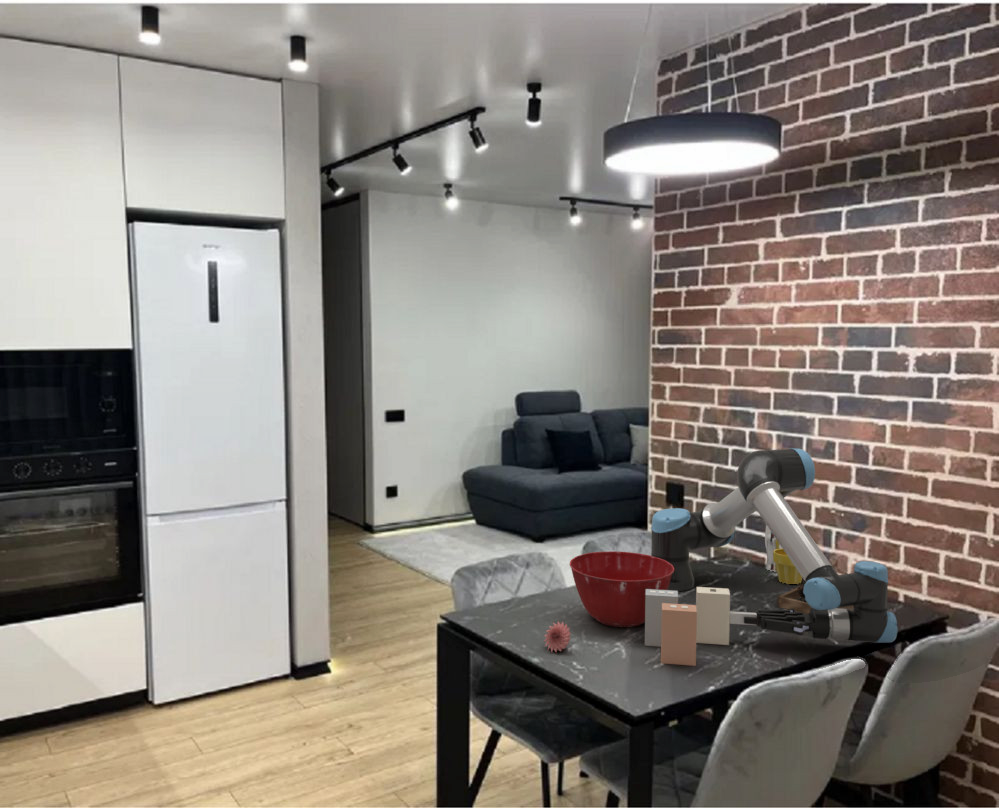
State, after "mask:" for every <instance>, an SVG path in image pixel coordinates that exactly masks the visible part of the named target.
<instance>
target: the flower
mask: <svg viewBox="0 0 999 808" xmlns="http://www.w3.org/2000/svg"><path fill="white" fill-rule="evenodd" d="M552 625H553V626H552ZM552 625H549V626H548V628H549V629H547V630H546V629H545V632H547V633H546V634H545V635H544V636H543V637H546V638H545V639H544V640H543V642H546V643H545V645H544V647H546V646H548V647H547V651H549V650H550V653H553V651H554V652H555V653H558V651H559V652H562V650H565V649H566V648H567V646H568V645H570V640H571V639H572V637H570V636H571V634H572V631H570V629H571V628H570V626H569V627H568V623H565V624H564V621H562V622H561V623H560V621H557V624H556V623H555V622H552Z"/></svg>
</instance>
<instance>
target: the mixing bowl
mask: <svg viewBox="0 0 999 808" xmlns="http://www.w3.org/2000/svg"><path fill="white" fill-rule="evenodd" d="M569 567H570V569H571V573H572V577H573V580H574V584H575V587H576V591H577V593H578V596H579V599H580V600H581V603H582V605H583V607H584V609H585V610H586V612H587V614H589V615H590V617H592V618H594V619H595V620H597V621H598V622H599V623H601V624H603V625H606V626H611V627H618V628H633V627H637V626H640V625H642V624H645V598H646V589H654V590H667V589H668V587H669V583H670V580H671V576H672V573H673V572H674V567H673V565H672V564H670V563H669V562H667V561H665V560H663V559H660V558H657V557H654V556H651V555H649V554H645V553H644V554H643V553H637V552H630V551H613V550H612V551H596V552H595V551H594V552H587V553H583V554H579V555H577V556H574V557H573V558H572V559H570V561H569Z"/></svg>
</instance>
